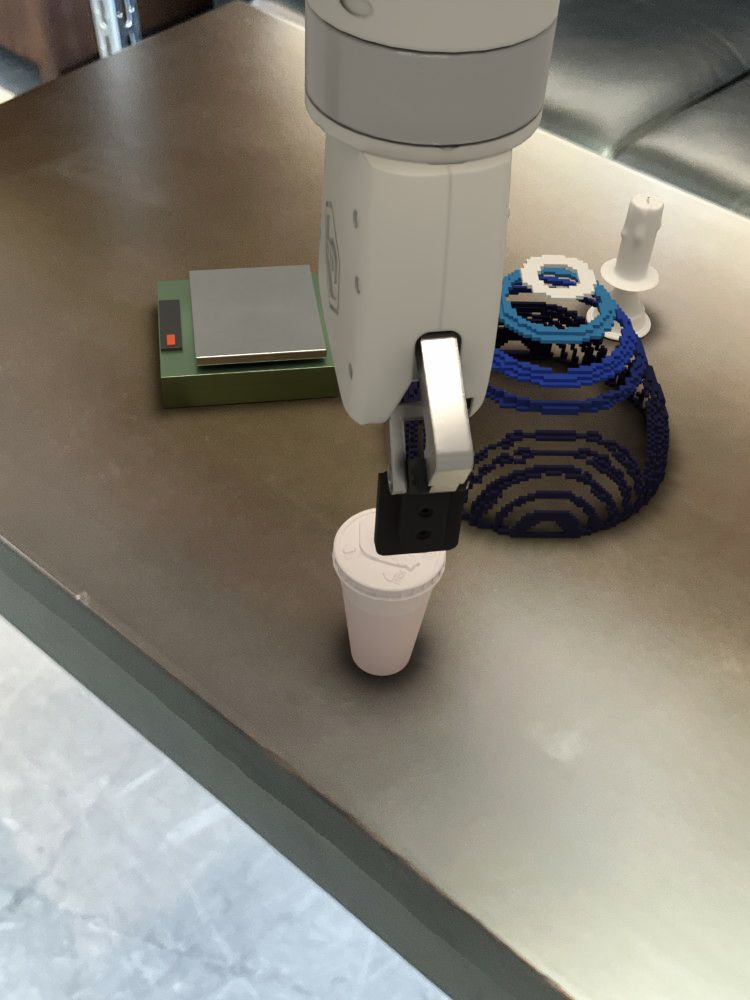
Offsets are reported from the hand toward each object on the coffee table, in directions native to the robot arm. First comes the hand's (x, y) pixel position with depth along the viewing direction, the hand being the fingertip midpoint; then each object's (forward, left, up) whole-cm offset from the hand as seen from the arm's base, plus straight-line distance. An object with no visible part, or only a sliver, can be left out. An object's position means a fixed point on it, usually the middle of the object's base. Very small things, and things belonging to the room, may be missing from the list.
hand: (394, 460), depth 48 cm
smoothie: (+2, +8, -24) cm, 26 cm away
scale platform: (-3, +38, -21) cm, 44 cm away
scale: (-4, +38, -24) cm, 45 cm away
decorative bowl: (+16, +26, -24) cm, 39 cm away
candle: (+27, +39, -24) cm, 53 cm away
